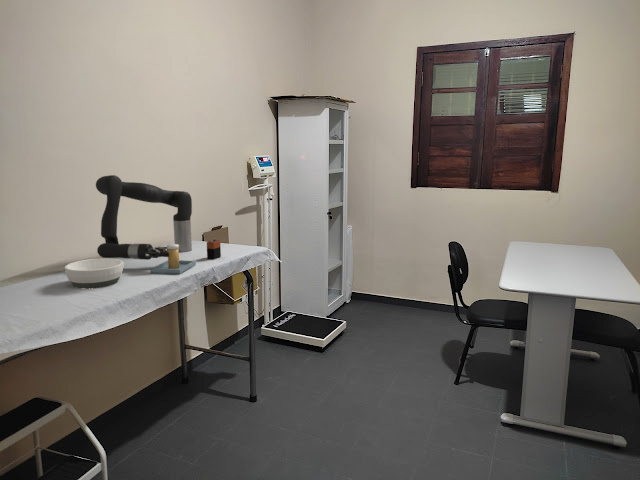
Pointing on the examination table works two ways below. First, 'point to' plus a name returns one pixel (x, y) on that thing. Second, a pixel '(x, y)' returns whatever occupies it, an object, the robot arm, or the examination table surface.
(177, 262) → the pill bottle
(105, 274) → the bowl
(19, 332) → the examination table surface
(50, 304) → the examination table surface
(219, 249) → the battery
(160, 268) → the tray
